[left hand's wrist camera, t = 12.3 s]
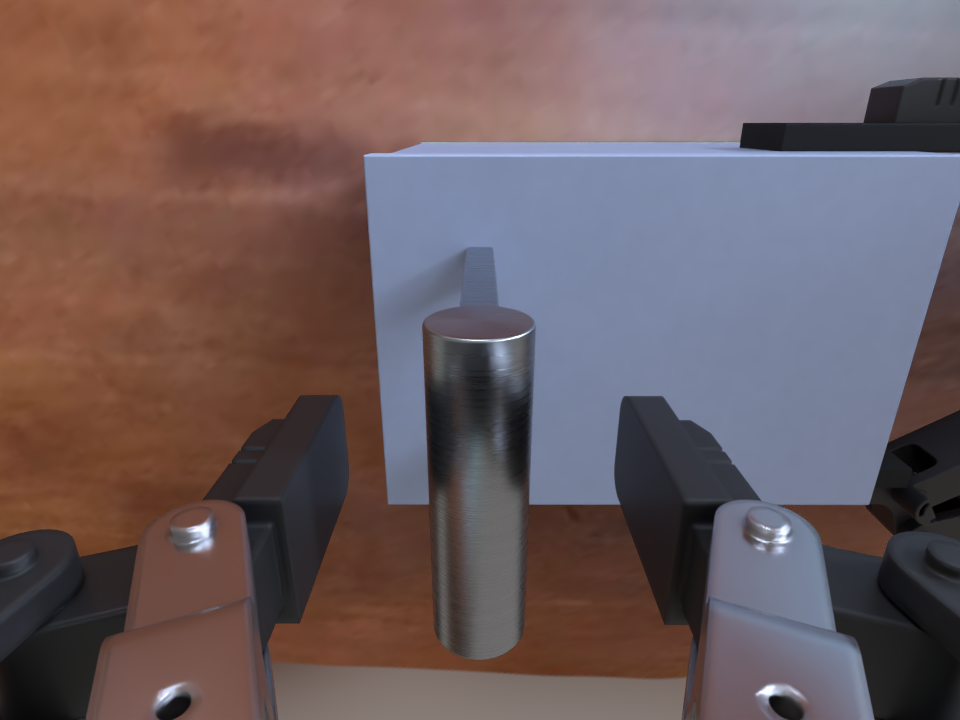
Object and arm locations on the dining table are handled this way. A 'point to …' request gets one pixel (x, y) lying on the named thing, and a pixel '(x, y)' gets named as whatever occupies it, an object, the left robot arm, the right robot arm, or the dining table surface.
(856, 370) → the grey box lid
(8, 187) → the dining table surface
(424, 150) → the chest
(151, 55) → the dining table surface
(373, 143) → the dining table surface
